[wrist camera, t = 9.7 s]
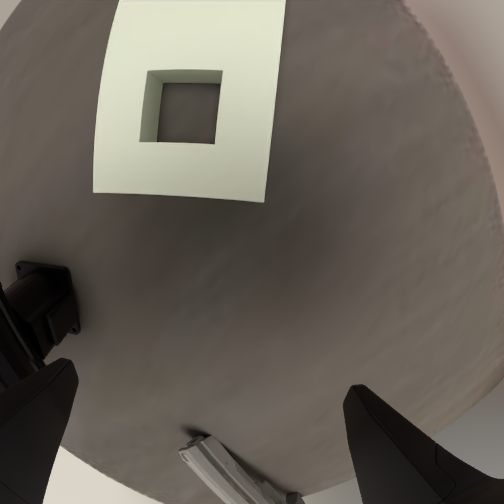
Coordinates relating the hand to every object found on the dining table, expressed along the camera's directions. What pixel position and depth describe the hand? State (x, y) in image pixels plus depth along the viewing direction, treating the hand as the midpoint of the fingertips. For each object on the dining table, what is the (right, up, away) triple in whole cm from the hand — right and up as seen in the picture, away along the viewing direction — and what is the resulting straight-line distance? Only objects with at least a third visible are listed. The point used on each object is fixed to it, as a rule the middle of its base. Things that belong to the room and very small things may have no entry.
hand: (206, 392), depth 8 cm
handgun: (+2, -28, +25) cm, 38 cm away
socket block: (-2, +18, +7) cm, 19 cm away
